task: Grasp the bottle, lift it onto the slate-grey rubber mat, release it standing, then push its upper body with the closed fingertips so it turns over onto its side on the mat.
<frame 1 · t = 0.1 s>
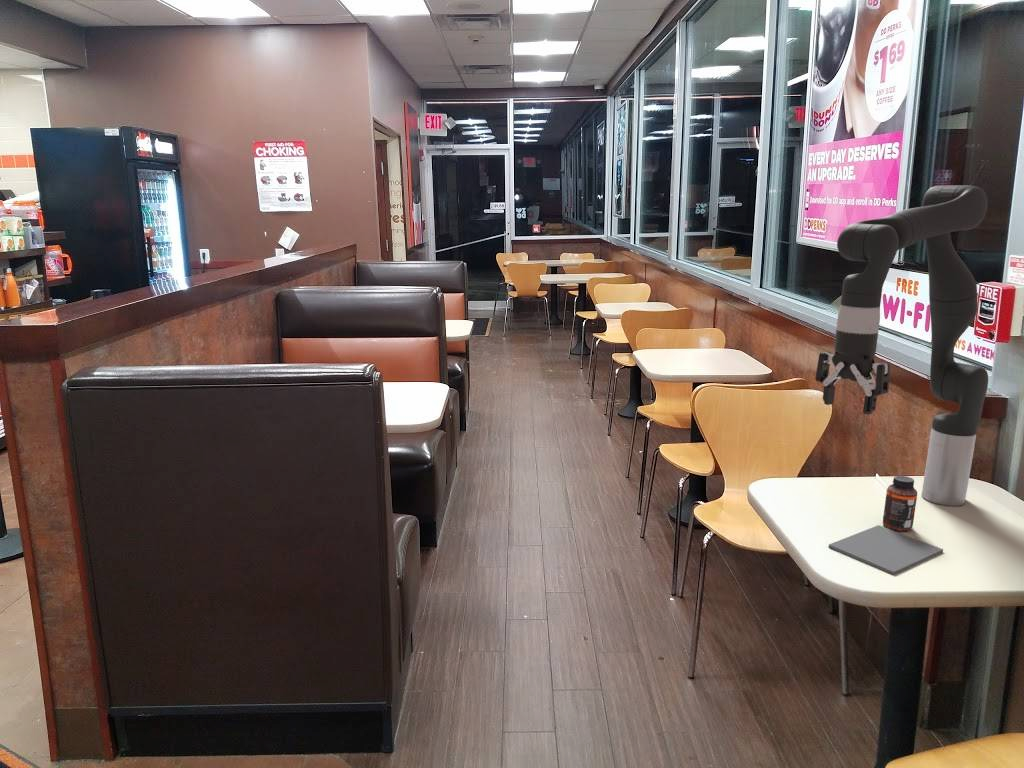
hand: (847, 408, 152), 29 cm above the table, fingers open, 8 cm apart
mat: (885, 549, 157), on the table
supplement bottle: (897, 527, 168), on the table
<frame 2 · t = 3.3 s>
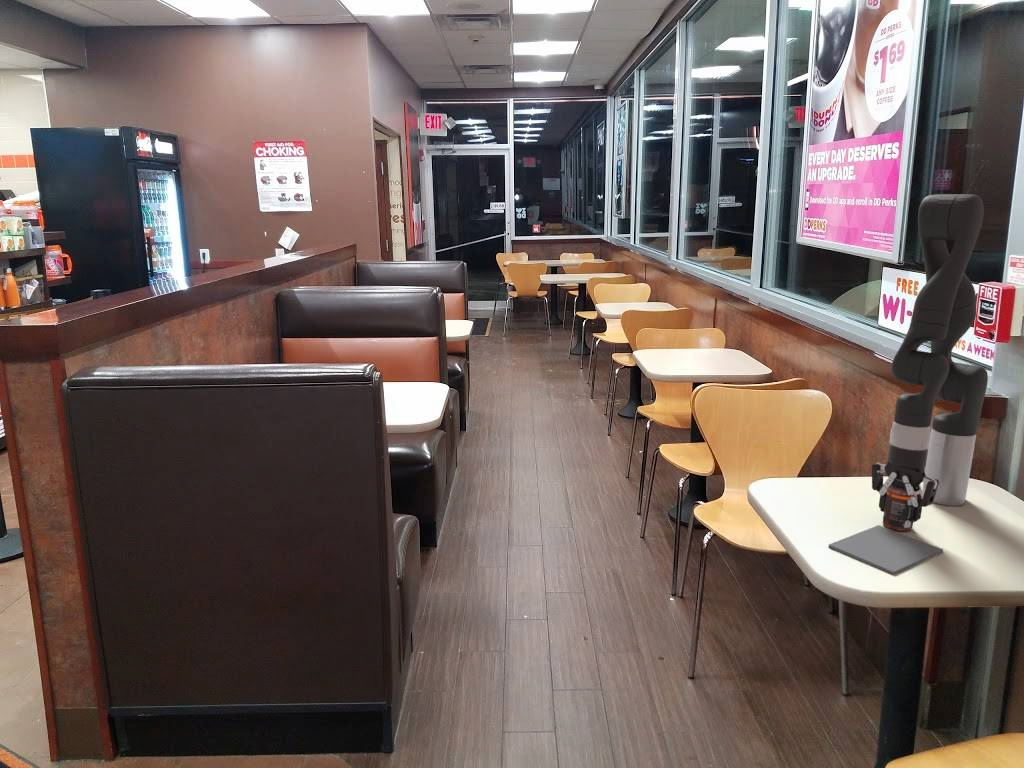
hand: (898, 515, 167), 3 cm above the table, fingers closed on supplement bottle, 6 cm apart
supplement bottle: (897, 527, 168), on the table, touching gripper
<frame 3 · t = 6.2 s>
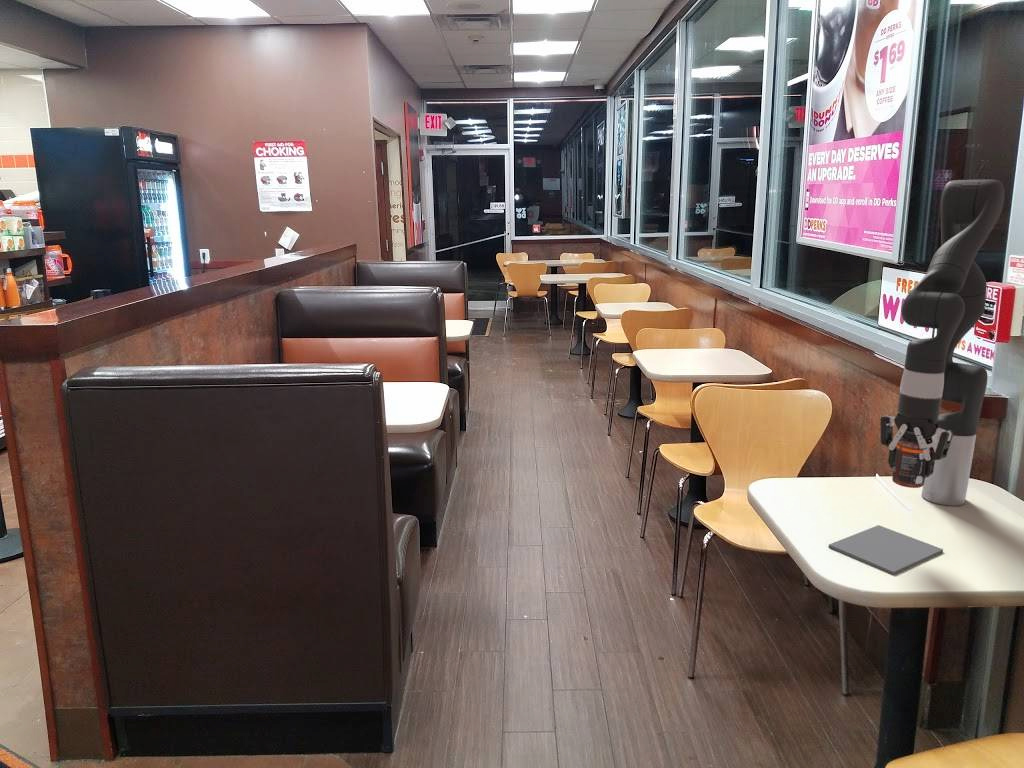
hand: (909, 471, 156), 16 cm above the table, fingers closed on supplement bottle, 6 cm apart
supplement bottle: (907, 484, 156), point 13 cm above the table, touching gripper
when the fingers open (5 cm above the table, at t = 9.0 s): supplement bottle drops 1 cm, resting on mat.
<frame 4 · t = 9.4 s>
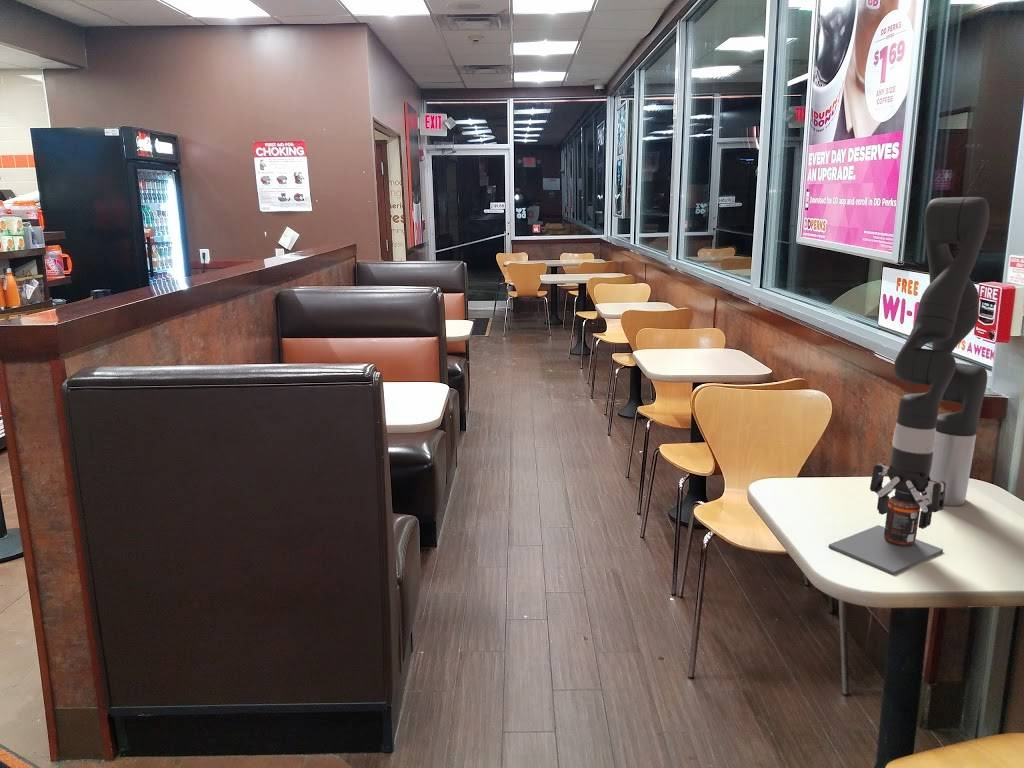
hand: (902, 520, 158), 5 cm above the table, fingers open, 8 cm apart
supplement bottle: (898, 541, 159), resting on mat
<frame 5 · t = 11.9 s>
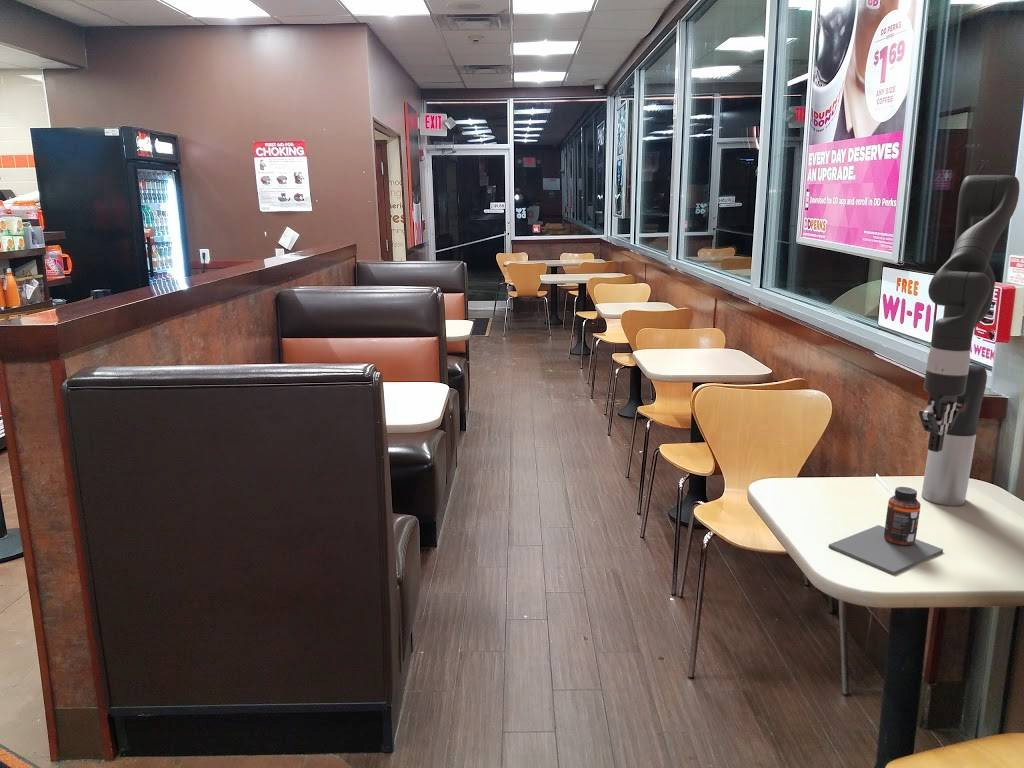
hand: (934, 450, 160), 19 cm above the table, fingers closed
nothing on the table moved.
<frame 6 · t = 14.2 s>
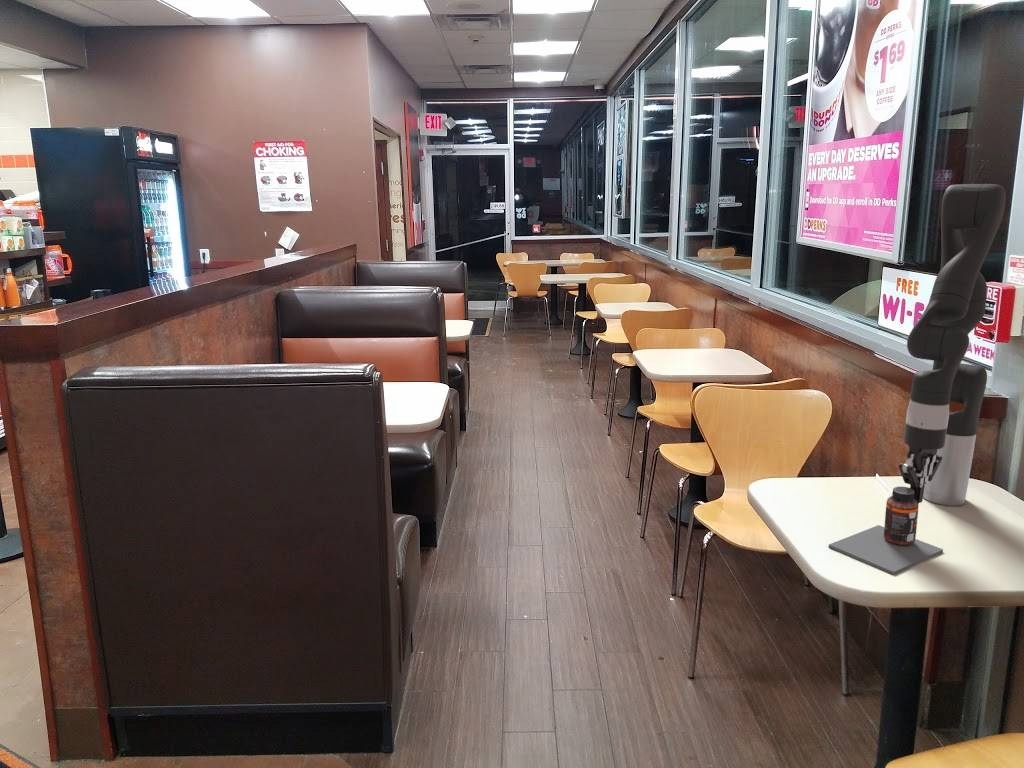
hand: (915, 501, 159), 9 cm above the table, fingers closed
supplement bottle: (899, 540, 159), point 1 cm above the table, touching gripper, mat
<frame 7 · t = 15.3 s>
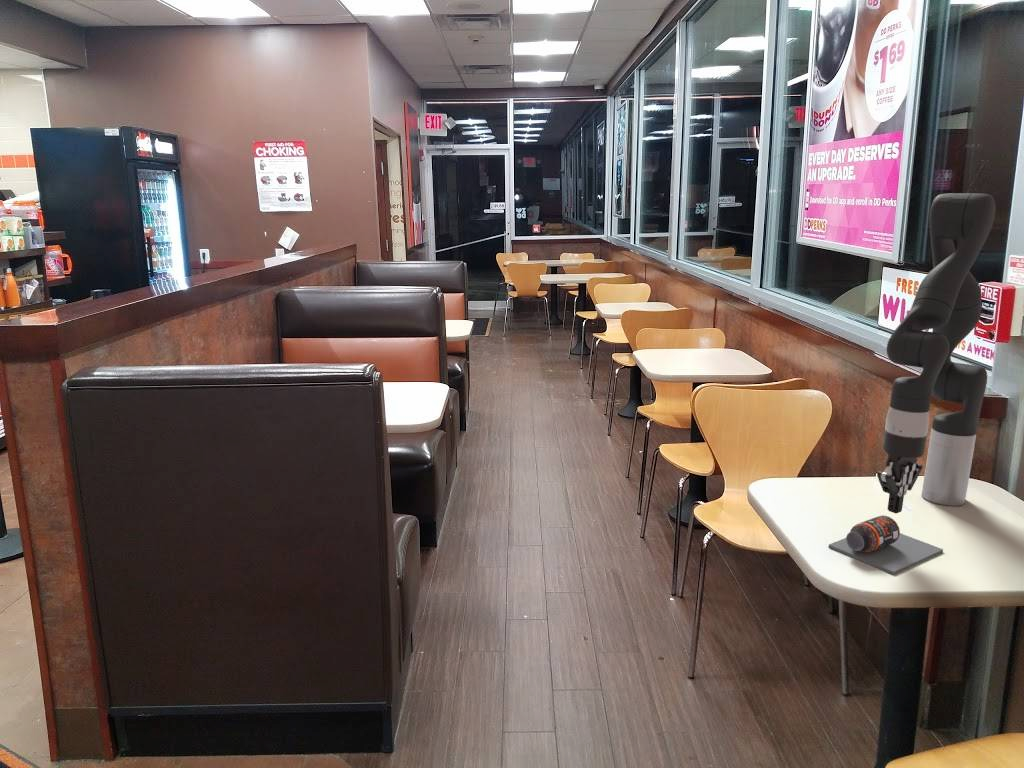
hand: (894, 511, 155), 8 cm above the table, fingers closed
supplement bottle: (887, 528, 158), point 4 cm above the table, touching mat
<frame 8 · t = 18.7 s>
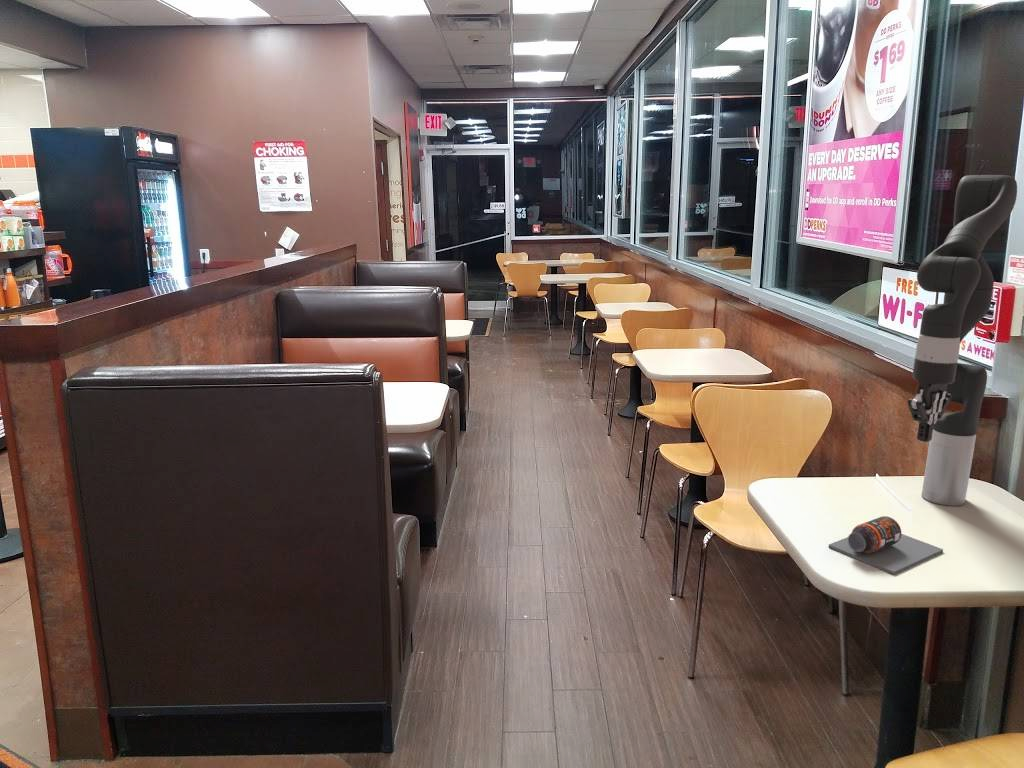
hand: (924, 440, 156), 22 cm above the table, fingers closed
nothing on the table moved.
at the end: supplement bottle tilted 91°; supplement bottle inside the target area (3.9 cm from its centre), point 3.6 cm above the table; the gripper is holding nothing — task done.
